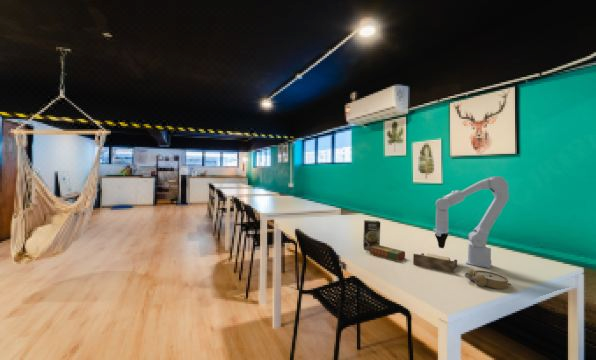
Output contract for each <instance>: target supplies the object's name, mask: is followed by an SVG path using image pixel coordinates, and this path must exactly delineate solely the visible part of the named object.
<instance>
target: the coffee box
mask: <svg viewBox="0 0 596 360" xmlns="http://www.w3.org/2000/svg"><path fill="white" fill-rule="evenodd" d="M362 239H363V240H362V242H363V243H362V247H363V250H370V247H373V246H376V245H380V244H381V221H379V220H369V219H368V220H367V219H364V220H363V238H362Z"/></svg>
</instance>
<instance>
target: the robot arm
mask: <svg viewBox="0 0 596 360" xmlns="http://www.w3.org/2000/svg"><path fill="white" fill-rule="evenodd" d="M481 190H490V191H491V192H492V194H493V196H494V198H493V200H492V202H491V203H490V205H489V206H488V208H487V209H486V211H485V213H484V215H483V216H482V218H481V219H480V222H479V223H478V224H477V226H475V227H474V229H473V230H472V231H470V232H469V233H468V235H467V238H468V240H469V242H468V244H467V245H468V247H467V249H468V250H467V260H466V262H465V264H466V265H471V266H476V267H483V268H486V269H490V268H491V265H492V247H491V248H490V247H487V242H488V237H489V234H490V230H491V229H492V228H493V225H494V224H495V222H496V220H497V218H498V217H499V215H500V214H501V213H502V211H503V209H504V208H505V205H506V204H507V202H508V201H509V198H510V194H509V184H508V182H507V180H506V179H505V178H504V177H503V176H489V177H488V178H484V179H482V180H479V181H478V182H475V183H473V184H472V185H470V186H468V187H466V188H464V189H463V190H458V189H456V190H452V191H451V192H450V193H449V194H446V195H443V196H442V198H438V199H437V200H436V201H435V207H436V209H435V228H433V229H432V231H433V232H435V233H434V237H435V238H436V241H437V245H438V248H439V249H445V246H446V242H447V239H448V237H449V234H448V233H449V208H450V207H452V206H455V205H457V204H459V203H461V202H463V201H465V198H466V197H467V196H469V195H472V194H473V193H476V192H478V191H481Z"/></svg>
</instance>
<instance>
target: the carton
mask: <svg viewBox="0 0 596 360" xmlns="http://www.w3.org/2000/svg"><path fill="white" fill-rule="evenodd" d="M369 254H370V255H372V254H373V256H377V257H379V256H380V258H384V259H387V260H391V261H395V262H399V261H402V260H404V259H406V251H405V250H401V249H397V248H393V247H389V246H384V245H376V246H373V247H370V249H369Z"/></svg>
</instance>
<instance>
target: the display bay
mask: <svg viewBox="0 0 596 360" xmlns="http://www.w3.org/2000/svg"><path fill="white" fill-rule="evenodd" d="M412 254H413V256H412V257H413V258H412V259H413V261H412V263H413V265H416V266H419V267H424V268H430V269H433V270H437V271H442V272H447V273H452V274H453V273H454V270H455V269H456V268H457V266H458V259H453V260H451V259H450V260H445V259H440V258H435V257H430V256H425V253H423V252H422V253H421V254H418V253H412Z"/></svg>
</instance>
